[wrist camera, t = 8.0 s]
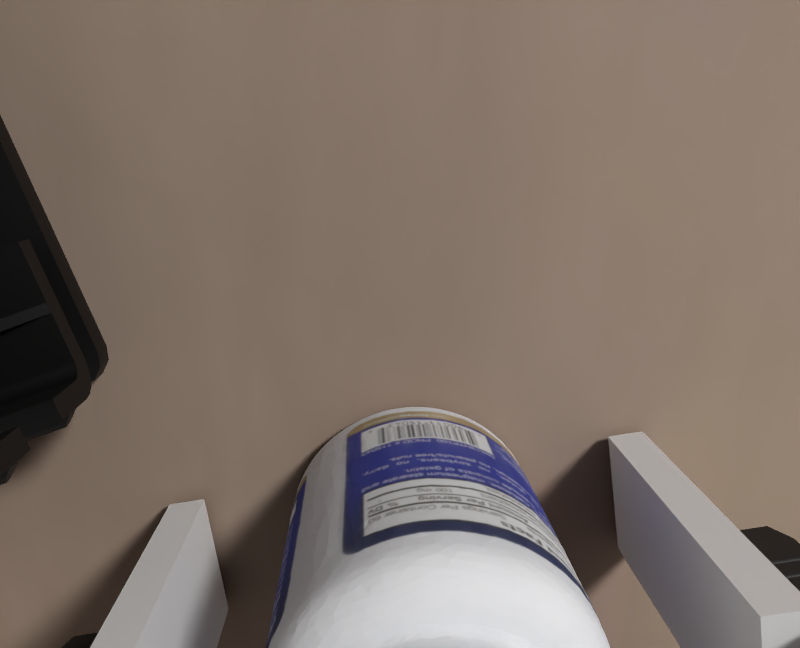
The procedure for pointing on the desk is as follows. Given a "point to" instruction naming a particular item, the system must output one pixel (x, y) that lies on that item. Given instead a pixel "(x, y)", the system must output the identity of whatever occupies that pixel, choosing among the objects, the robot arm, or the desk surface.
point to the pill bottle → (424, 545)
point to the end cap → (38, 320)
